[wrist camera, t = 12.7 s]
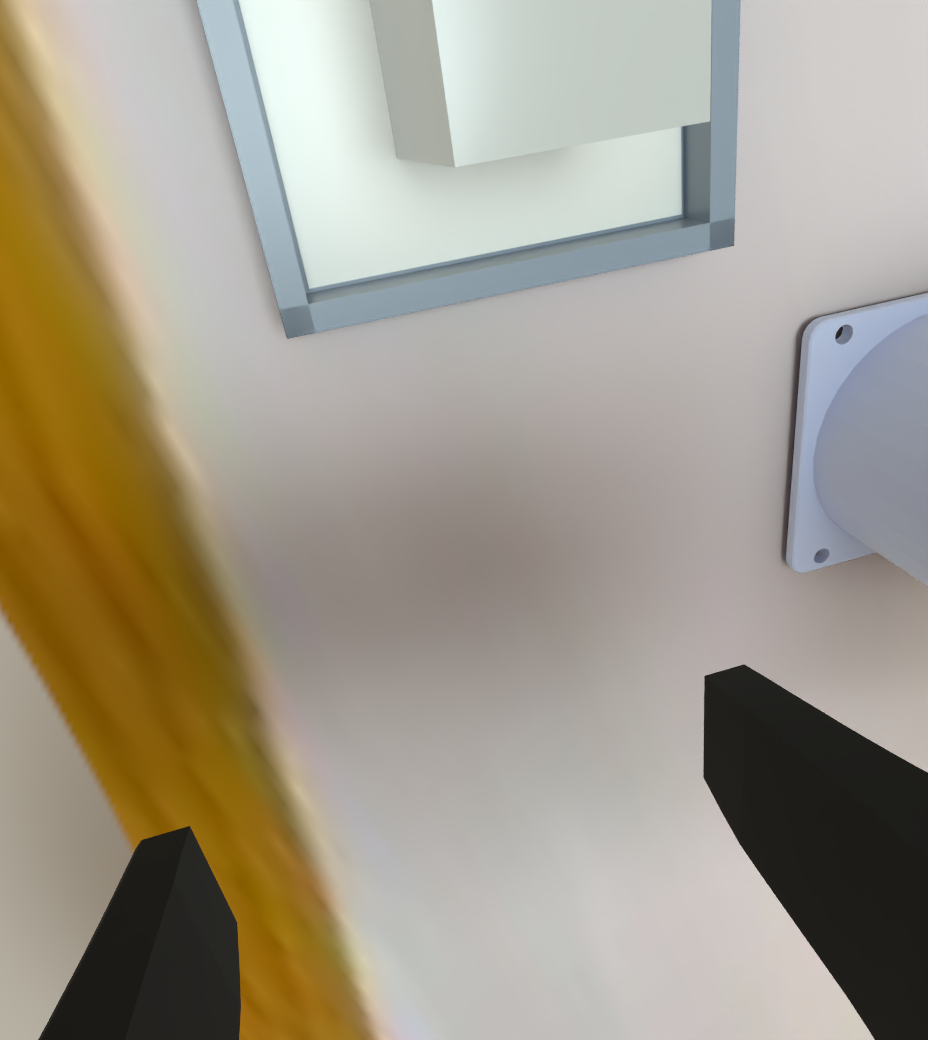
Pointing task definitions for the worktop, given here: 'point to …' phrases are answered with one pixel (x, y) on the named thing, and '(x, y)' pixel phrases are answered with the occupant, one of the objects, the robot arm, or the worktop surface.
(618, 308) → the worktop surface
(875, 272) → the worktop surface
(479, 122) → the block
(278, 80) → the tray
